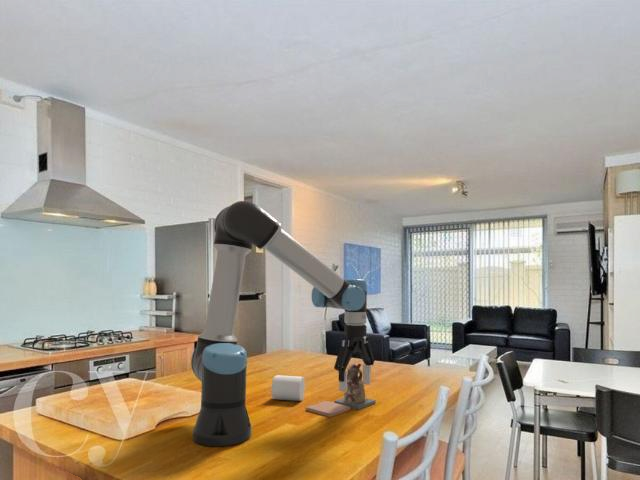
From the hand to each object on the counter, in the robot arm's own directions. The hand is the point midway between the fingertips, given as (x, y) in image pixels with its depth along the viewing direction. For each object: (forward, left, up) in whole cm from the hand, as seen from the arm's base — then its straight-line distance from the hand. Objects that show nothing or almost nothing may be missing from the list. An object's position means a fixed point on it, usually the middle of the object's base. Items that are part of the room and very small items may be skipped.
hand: (355, 387), depth 150 cm
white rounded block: (-10, +21, -6) cm, 24 cm away
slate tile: (0, 0, -5) cm, 5 cm away
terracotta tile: (-12, +2, -5) cm, 13 cm away
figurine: (0, 0, -4) cm, 4 cm away
